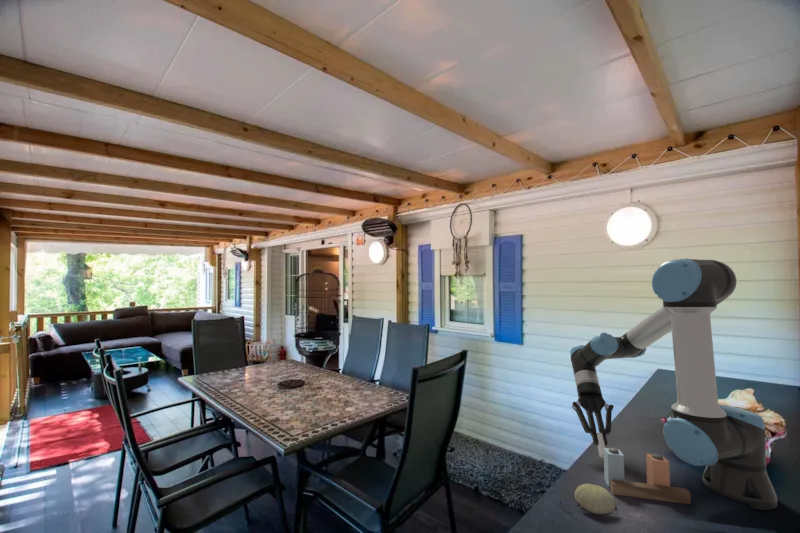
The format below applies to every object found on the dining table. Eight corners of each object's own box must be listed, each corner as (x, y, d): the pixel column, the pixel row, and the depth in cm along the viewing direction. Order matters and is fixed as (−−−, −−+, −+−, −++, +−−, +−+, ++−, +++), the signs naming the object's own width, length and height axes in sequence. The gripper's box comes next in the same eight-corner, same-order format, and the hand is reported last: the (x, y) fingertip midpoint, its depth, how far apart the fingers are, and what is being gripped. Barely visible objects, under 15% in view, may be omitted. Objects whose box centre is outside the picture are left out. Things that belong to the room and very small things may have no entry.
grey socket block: (604, 479, 106) (603, 445, 106) (619, 481, 105) (618, 447, 105) (608, 487, 102) (607, 451, 103) (624, 489, 101) (623, 453, 102)
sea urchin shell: (576, 484, 103) (598, 470, 99) (598, 512, 99) (622, 498, 96) (566, 498, 96) (590, 484, 92) (590, 530, 92) (616, 515, 88)
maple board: (596, 469, 114) (596, 456, 114) (662, 477, 110) (662, 463, 110) (612, 499, 99) (612, 483, 99) (690, 509, 94) (690, 493, 94)
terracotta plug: (647, 486, 102) (646, 451, 103) (663, 488, 101) (662, 452, 102) (653, 494, 99) (652, 457, 99) (670, 496, 98) (669, 459, 98)
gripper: (605, 393, 131) (623, 463, 114) (566, 390, 134) (578, 458, 117) (610, 382, 126) (629, 453, 109) (569, 379, 129) (582, 448, 112)
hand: (603, 455), depth 113 cm, fingers closed
